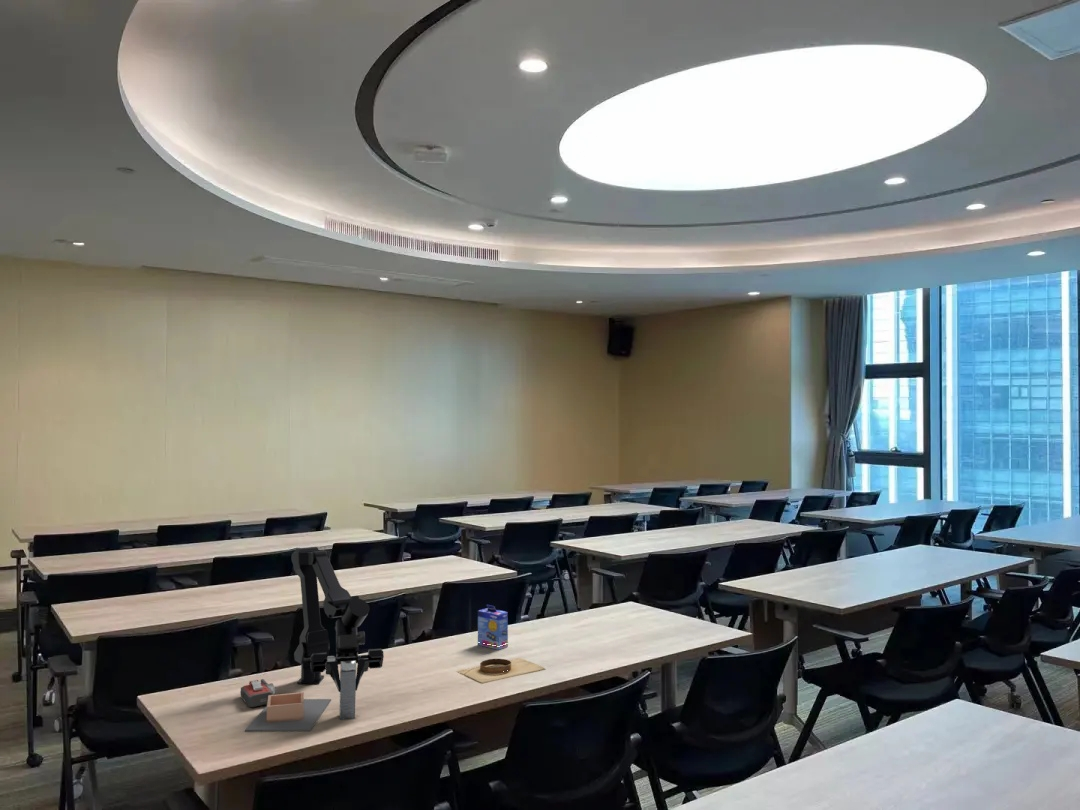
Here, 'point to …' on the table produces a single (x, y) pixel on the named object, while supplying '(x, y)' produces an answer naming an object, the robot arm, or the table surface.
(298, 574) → the robot arm
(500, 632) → the ink cartridge box
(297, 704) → the open box
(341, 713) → the grey block
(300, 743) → the table surface
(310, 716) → the mat
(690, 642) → the table surface
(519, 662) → the board
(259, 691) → the grey red device
